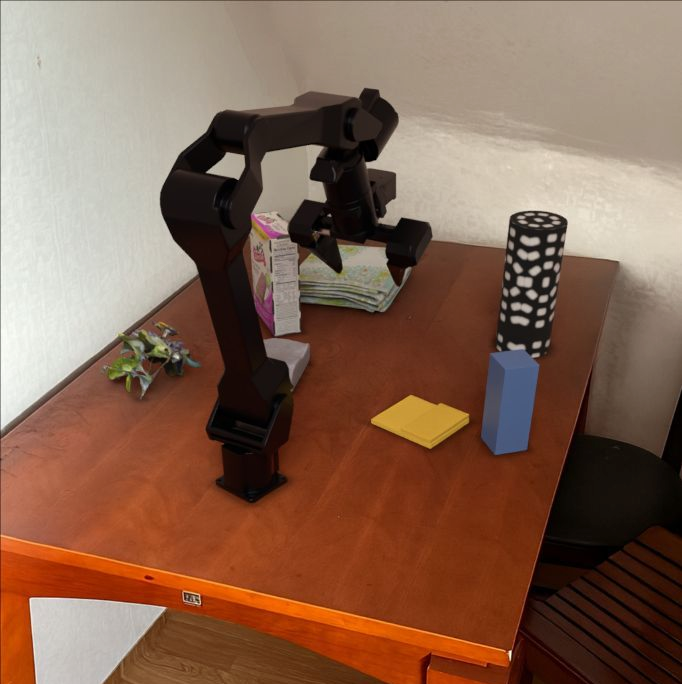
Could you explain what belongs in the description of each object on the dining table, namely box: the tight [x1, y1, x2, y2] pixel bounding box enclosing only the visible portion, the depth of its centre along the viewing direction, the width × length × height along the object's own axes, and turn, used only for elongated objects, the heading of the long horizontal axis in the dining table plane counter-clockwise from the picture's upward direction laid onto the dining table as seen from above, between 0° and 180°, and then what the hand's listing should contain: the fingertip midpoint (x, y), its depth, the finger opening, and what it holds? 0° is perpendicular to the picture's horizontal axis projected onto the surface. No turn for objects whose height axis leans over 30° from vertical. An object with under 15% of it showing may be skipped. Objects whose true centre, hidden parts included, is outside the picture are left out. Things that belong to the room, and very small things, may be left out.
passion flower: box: [100, 320, 202, 401], centre depth 134 cm, size 11×11×12 cm
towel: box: [300, 244, 413, 313], centre depth 164 cm, size 18×21×5 cm
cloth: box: [370, 394, 470, 450], centre depth 128 cm, size 9×10×1 cm
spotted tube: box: [494, 210, 569, 359], centre depth 142 cm, size 8×8×20 cm
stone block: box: [263, 337, 311, 393], centre depth 138 cm, size 12×5×10 cm
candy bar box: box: [249, 210, 302, 337], centre depth 149 cm, size 11×5×16 cm, turn 22°
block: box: [480, 349, 540, 456], centre depth 121 cm, size 5×5×12 cm
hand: (369, 277), depth 129 cm, fingers open, 9 cm apart
